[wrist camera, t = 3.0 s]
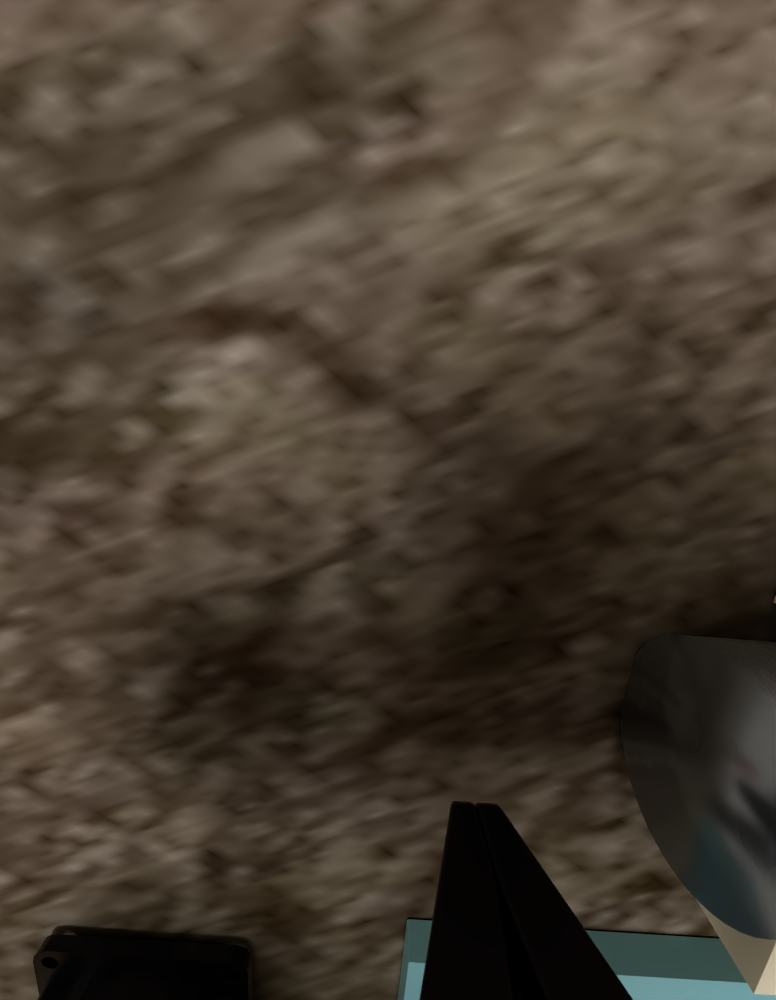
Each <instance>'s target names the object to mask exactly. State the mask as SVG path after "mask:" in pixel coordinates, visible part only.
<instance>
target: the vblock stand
mask: <svg viewBox="0 0 776 1000" xmlns="http://www.w3.org/2000/svg"><path fill="white" fill-rule="evenodd" d="M431 925H432V921H430V920H414V919H407V926H406V934H405V942H404V950H403V958H402V966H401V974H400V982H399V990H398V998H397V1000H419V999H420V993H421V987H422V981H423V974H424V968H425V962H426V956H427V950H428V943H429V937H430V931H431ZM586 932H587V933H588V935H589V936H590V938H591V939H592V941H593V942H594V944H595V945H596V946H597V948H598V949H599V951H600V952H601V954H602V955H603V957H604V958H605V959H606V961H607V962H608V964H609V965H610V967H611V968H612V970H613V971H614V973H615V974H616V975H617V977H618V978H619V980H620V981H621V983H622V984H623V986H624V987H625V988H626V990H627V991H628V993H629V994H630V996H631V997H632V999H633V1000H776V995H762V994H753V992H752V990H751V989H750V987H749V985H748V984H747V982H746V980H745V979H744V977H743V976H742V974H741V972H740V971H739V969H738V967H737V966H736V964H735V962H734V961H733V959H732V958H731V956H730V954H729V953H728V951H727V949H726V948H725V946H724V944H723V943H722V941H721V940H720V939H716V938H700V937H684V936H668V935H652V934H636V933H620V932H605V931H589V930H586Z"/></svg>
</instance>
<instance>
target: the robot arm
mask: <svg viewBox="0 0 776 1000" xmlns="http://www.w3.org/2000/svg"><path fill="white" fill-rule="evenodd" d="M33 963H34V968H35V974H36V979H37V984H38V989H39V995H40V996H39V998H38V1000H252V955H251V953H250V951H249V950H248V949H246V948H244V947H242V946H237V945H223V944H207V943H191V942H175V941H158V940H142V939H126V938H110V937H94V936H77V935H61V934H56V935H51V936H49V937H47V938H46V939H45V941H44V942H43V944H42V945H41V947H40V948H39V950H38V952H37V953H36V955H35V956H34V960H33ZM419 1000H633V999H632V997H631V996H630V994H629V993H628V991H627V990H626V988H625V987H624V986H623V984H622V983H621V981H620V980H619V978H618V977H617V975H616V974H615V973H614V971H613V970H612V968H611V967H610V965H609V964H608V962H607V961H606V959H605V958H604V957H603V955H602V954H601V952H600V951H599V949H598V948H597V946H596V945H595V944H594V942H593V941H592V939H591V938H590V936H589V935H588V933H587V932H586V930H585V929H584V928H583V926H582V925H581V923H580V922H579V920H578V919H577V917H576V916H575V915H574V913H573V912H572V910H571V909H570V907H569V906H568V904H567V903H566V902H565V900H564V899H563V897H562V896H561V894H560V893H559V891H558V890H557V888H556V887H555V886H554V884H553V883H552V881H551V880H550V878H549V877H548V875H547V874H546V873H545V871H544V870H543V868H542V867H541V865H540V864H539V862H538V861H537V859H536V858H535V857H534V855H533V854H532V852H531V851H530V849H529V848H528V846H527V845H526V844H525V842H524V841H523V839H522V838H521V836H520V835H519V833H518V832H517V830H516V829H515V828H514V826H513V825H512V823H511V822H510V820H509V819H508V817H507V816H506V815H505V813H504V812H503V810H502V809H501V808H500V807H499V806H498V805H497V804H492V803H476V804H475V805H474V804H473V803H471V802H462V801H453V802H452V803H451V808H450V814H449V820H448V826H447V832H446V838H445V845H444V851H443V857H442V863H441V869H440V875H439V882H438V888H437V894H436V900H435V906H434V913H433V919H432V925H431V931H430V937H429V943H428V950H427V956H426V962H425V968H424V974H423V981H422V987H421V993H420V999H419Z"/></svg>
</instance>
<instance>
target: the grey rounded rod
mask: <svg viewBox="0 0 776 1000" xmlns="http://www.w3.org/2000/svg"><path fill="white" fill-rule="evenodd" d="M620 722H621V736H622V744H623V750H624V756H625V761H626V765H627V769H628V773H629V777H630V780H631V784H632V787H633V790H634V793H635V796H636V799H637V802H638V804H639V807H640V809H641V812H642V814H643V816H644V819H645V821H646V824H647V826H648V828H649V830H650V832H651V834H652V836H653V838H654V840H655V842H656V843H657V845H658V847H659V849H660V850H661V852H662V854H663V856H664V857H665V859H666V860H667V862H668V863H669V865H670V866H671V868H672V869H673V871H674V872H675V874H676V875H677V876H678V878H679V879H680V880H681V882H682V883H683V884H684V886H685V887H686V888H687V889H688V890H689V891H690V892H691V894H692V895H693V896H694V897H695V898H696V899H697V900H698V901H699V902H700V903H701V904H702V905H703V906H704V907H705V908H706V909H707V910H708V911H709V912H710V913H711V914H713V915H714V916H715V917H717V918H718V919H719V920H721V921H722V922H723V923H725V924H726V925H728V926H730V927H731V928H733V929H735V930H737V931H738V932H741V933H743V934H746V935H749V936H751V937H754V938H761V939H768V940H776V642H771V641H757V640H744V639H730V638H716V637H703V636H689V635H676V634H674V635H664V636H660V637H656V638H654V639H652V640H651V641H649V642H647V643H646V644H645V645H644V646H642V647H641V648H640V650H639V651H638V652H637V653H636V655H635V659H634V663H633V666H632V670H631V674H630V678H629V682H628V686H627V690H626V694H625V698H624V702H623V706H622V709H621V713H620Z"/></svg>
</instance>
